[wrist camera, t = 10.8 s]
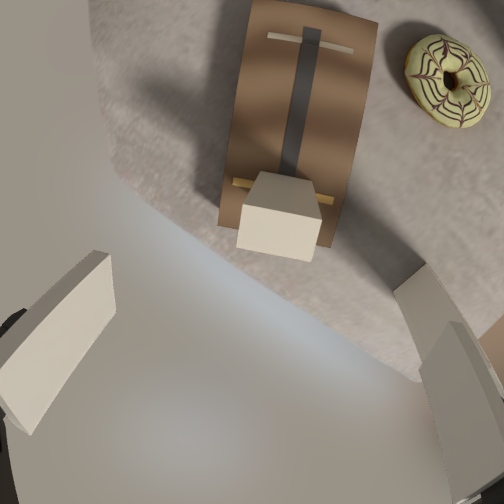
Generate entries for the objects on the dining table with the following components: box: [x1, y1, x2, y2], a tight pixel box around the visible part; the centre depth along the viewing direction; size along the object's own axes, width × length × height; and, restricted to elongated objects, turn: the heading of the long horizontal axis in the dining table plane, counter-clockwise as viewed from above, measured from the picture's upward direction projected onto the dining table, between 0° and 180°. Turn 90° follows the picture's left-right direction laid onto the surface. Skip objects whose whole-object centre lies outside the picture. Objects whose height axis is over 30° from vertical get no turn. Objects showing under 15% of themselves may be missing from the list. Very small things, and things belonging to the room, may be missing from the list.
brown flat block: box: [217, 0, 378, 248], centre depth 28 cm, size 24×12×4 cm, turn 171°
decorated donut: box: [405, 34, 491, 128], centre depth 23 cm, size 10×11×4 cm
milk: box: [393, 264, 504, 399], centre depth 27 cm, size 6×6×22 cm
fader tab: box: [236, 171, 322, 262], centre depth 24 cm, size 3×5×11 cm, turn 81°
